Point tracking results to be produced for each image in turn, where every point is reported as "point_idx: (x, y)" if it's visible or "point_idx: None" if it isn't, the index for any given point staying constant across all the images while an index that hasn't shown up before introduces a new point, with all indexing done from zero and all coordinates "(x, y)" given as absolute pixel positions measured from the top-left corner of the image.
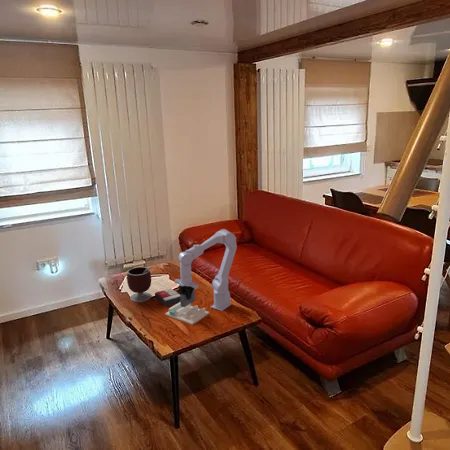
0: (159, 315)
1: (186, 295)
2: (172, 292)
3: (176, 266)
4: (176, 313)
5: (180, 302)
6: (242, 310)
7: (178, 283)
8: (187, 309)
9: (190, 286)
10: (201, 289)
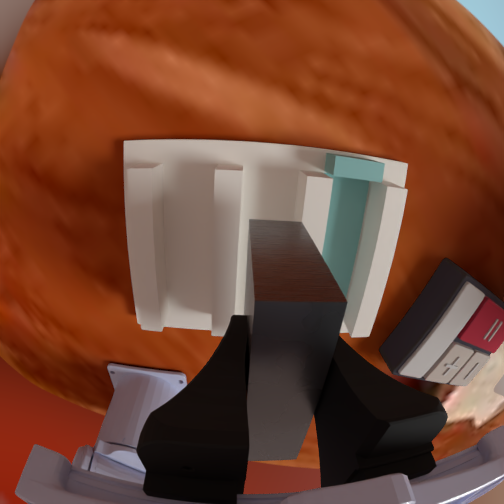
0: (429, 140)
1: (248, 340)
2: (453, 367)
3: None
4: (319, 174)
5: (369, 314)
6: (59, 387)
7: (457, 454)
8: None
9: (175, 499)
10: None
